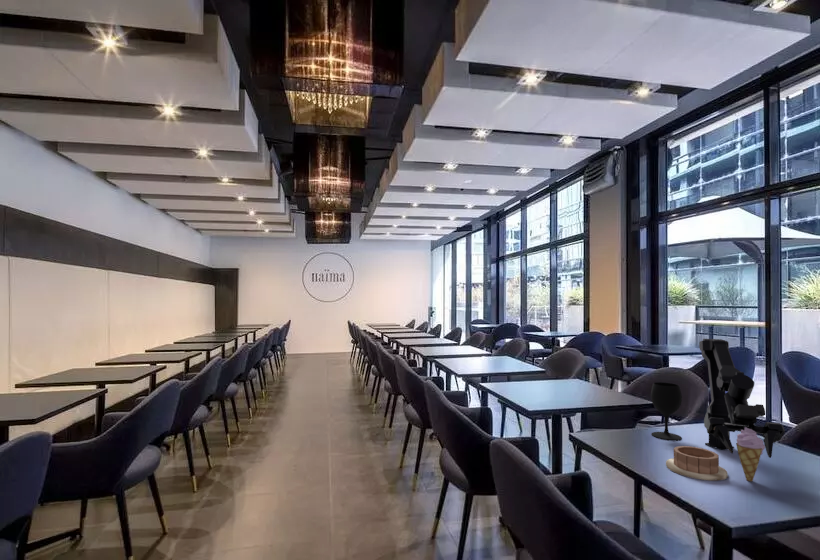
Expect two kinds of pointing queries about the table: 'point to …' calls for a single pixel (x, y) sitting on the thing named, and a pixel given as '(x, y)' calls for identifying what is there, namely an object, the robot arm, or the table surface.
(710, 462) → the cone stand
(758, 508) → the table surface
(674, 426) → the table surface
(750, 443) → the ice cream cone
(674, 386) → the wine glass
